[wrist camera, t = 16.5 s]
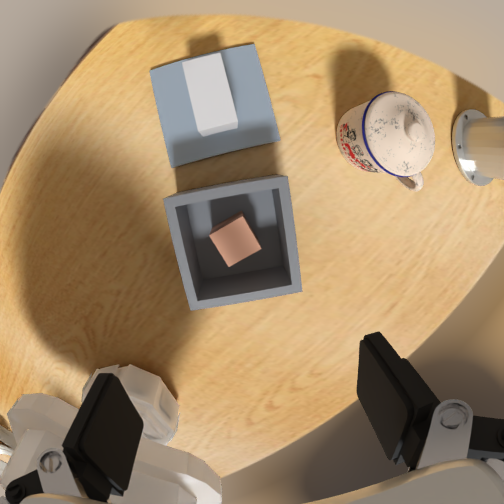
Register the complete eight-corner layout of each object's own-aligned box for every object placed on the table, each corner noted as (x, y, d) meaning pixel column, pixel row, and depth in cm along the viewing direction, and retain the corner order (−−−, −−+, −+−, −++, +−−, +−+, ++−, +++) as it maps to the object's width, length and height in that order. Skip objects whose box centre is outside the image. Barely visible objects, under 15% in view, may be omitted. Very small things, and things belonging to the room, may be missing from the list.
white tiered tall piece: (238, 369, 41) (253, 604, 7) (185, 451, 47) (174, 597, 14) (76, 299, 36) (-66, 478, 3) (65, 401, 42) (4, 532, 9)
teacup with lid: (319, 128, 32) (358, 112, 21) (369, 93, 31) (419, 71, 19) (371, 205, 35) (423, 223, 24) (416, 167, 34) (473, 173, 22)
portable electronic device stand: (-24, 406, 45) (-44, 434, 30) (26, 440, 48) (8, 474, 33) (-2, 446, 52) (-16, 471, 37) (46, 474, 55) (34, 503, 40)
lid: (253, 47, 29) (257, 26, 23) (278, 141, 32) (288, 135, 27) (151, 73, 29) (137, 57, 23) (173, 167, 33) (160, 168, 27)
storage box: (276, 174, 33) (287, 176, 26) (290, 269, 37) (302, 291, 30) (177, 192, 33) (163, 198, 26) (197, 285, 36) (190, 310, 30)
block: (241, 210, 33) (242, 216, 29) (258, 239, 34) (261, 248, 30) (211, 227, 33) (209, 235, 30) (229, 255, 35) (228, 267, 31)
